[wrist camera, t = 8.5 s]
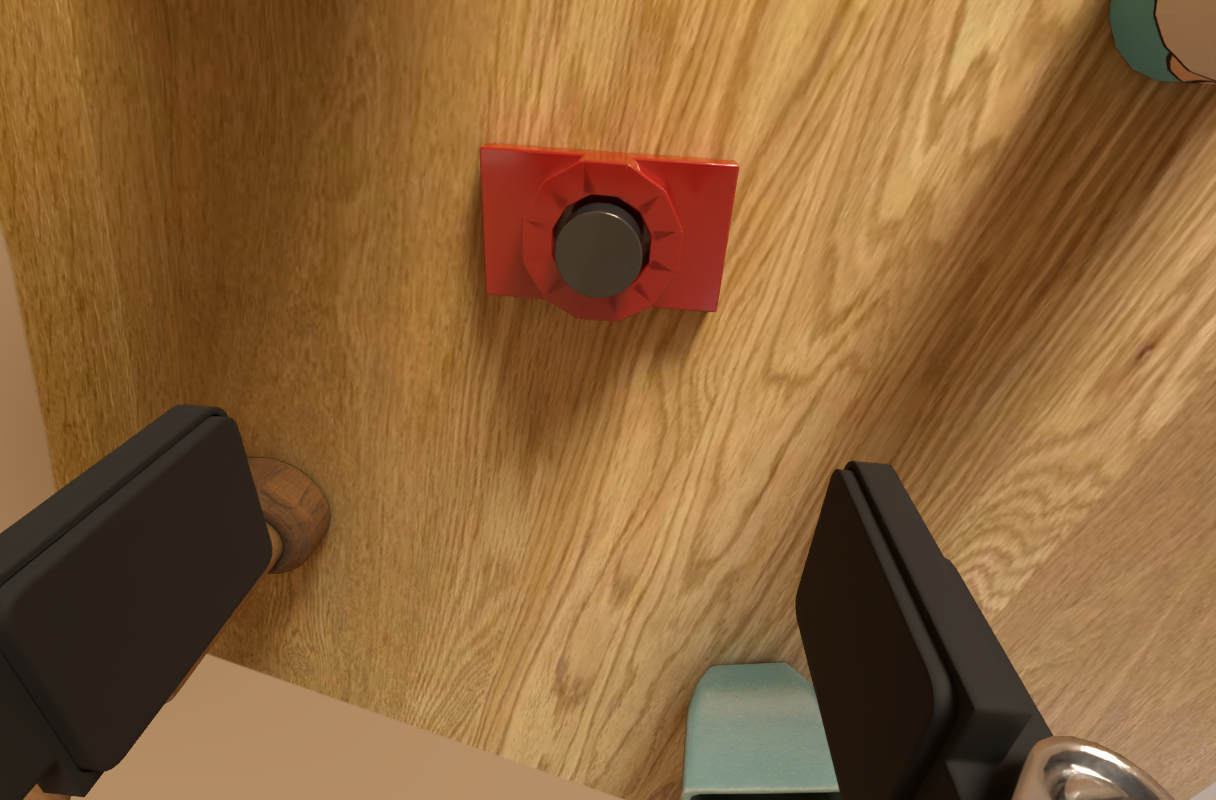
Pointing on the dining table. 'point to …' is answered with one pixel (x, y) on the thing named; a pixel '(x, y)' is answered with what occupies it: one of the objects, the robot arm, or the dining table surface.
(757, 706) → the flower pot
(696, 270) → the button block
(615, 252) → the button
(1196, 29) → the beige cylindrical canister
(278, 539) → the mortar and pestle
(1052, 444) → the dining table surface
